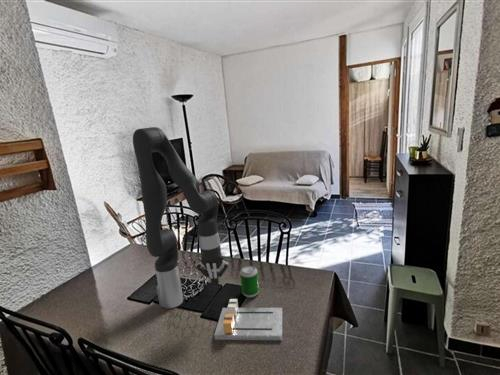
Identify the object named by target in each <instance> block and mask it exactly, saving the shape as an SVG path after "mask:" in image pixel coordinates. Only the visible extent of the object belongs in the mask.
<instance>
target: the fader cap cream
mask: <svg viewBox="0 0 500 375" xmlns="http://www.w3.org/2000/svg"><path fill="white" fill-rule="evenodd" d="M227 308H228V314H234V316H236V315H237V311H238V308H239V302H238V298H230V299H229V301H228V305H227Z"/></svg>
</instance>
